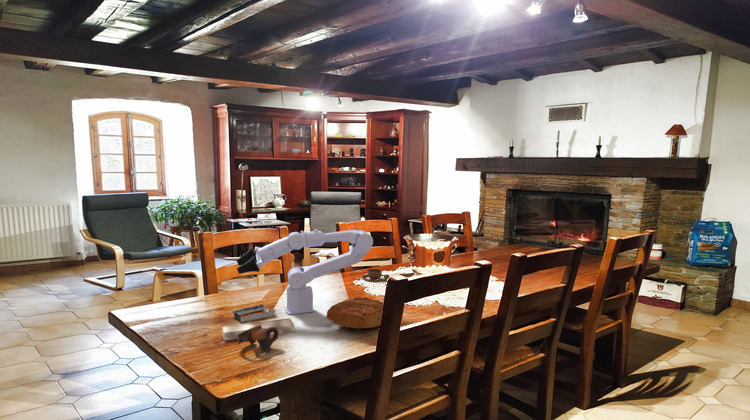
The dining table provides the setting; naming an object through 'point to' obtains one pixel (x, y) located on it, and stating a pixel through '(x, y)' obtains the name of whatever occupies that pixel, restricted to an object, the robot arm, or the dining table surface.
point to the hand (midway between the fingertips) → (237, 267)
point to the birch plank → (234, 330)
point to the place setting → (374, 275)
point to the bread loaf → (357, 313)
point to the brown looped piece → (259, 338)
